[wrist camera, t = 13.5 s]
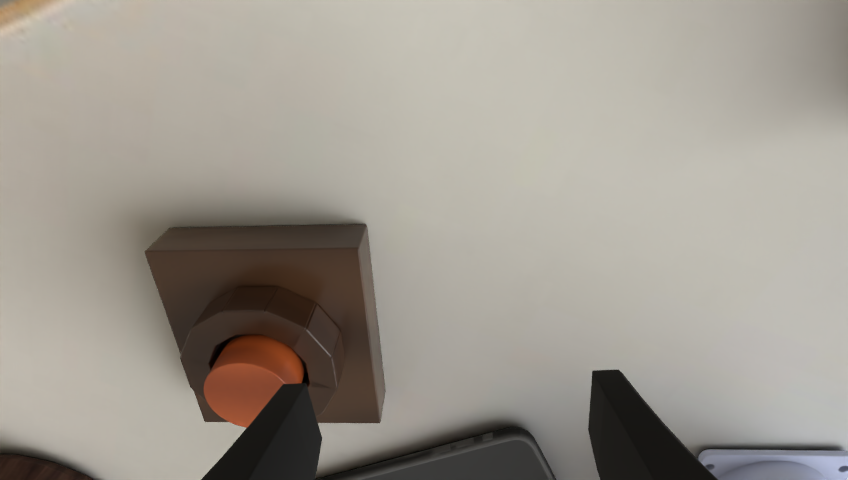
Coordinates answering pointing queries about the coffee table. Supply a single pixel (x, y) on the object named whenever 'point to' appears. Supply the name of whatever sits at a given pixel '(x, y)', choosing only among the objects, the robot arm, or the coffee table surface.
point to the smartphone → (465, 461)
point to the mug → (35, 469)
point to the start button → (250, 377)
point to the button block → (278, 306)
